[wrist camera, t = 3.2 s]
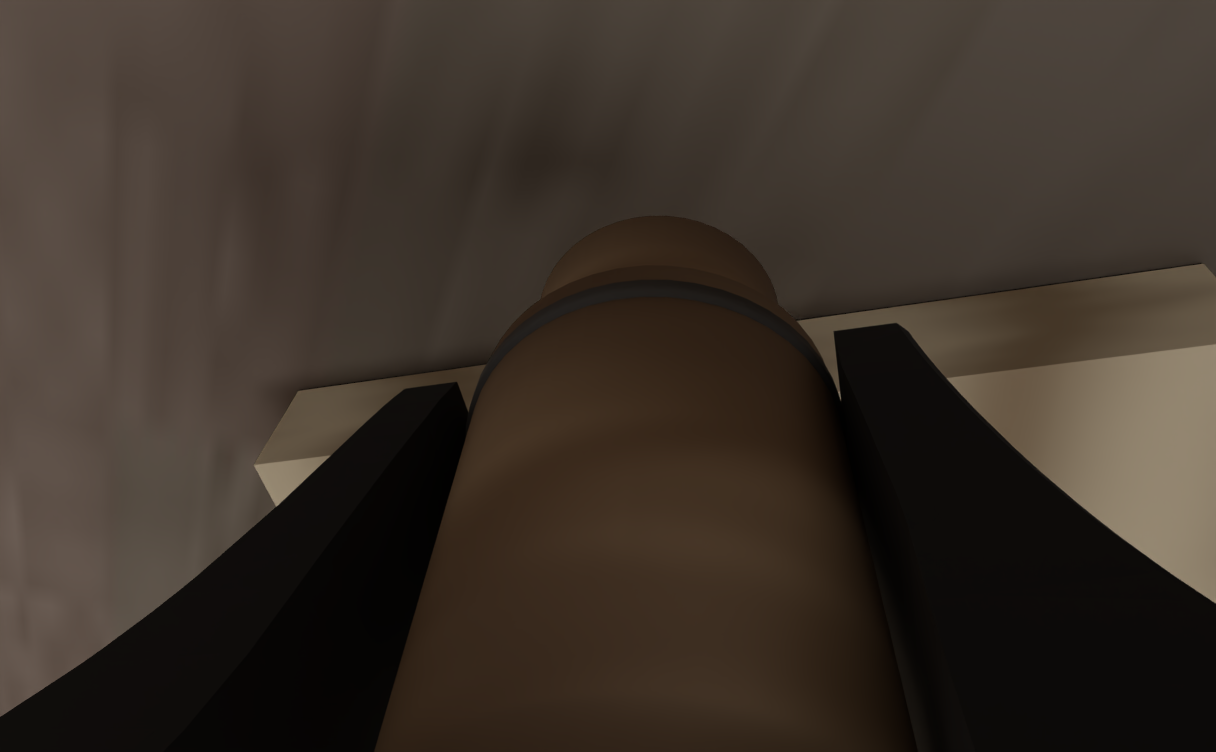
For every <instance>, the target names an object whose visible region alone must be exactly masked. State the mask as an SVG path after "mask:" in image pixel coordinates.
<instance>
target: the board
mask: <svg viewBox="0 0 1216 752" xmlns="http://www.w3.org/2000/svg"><path fill="white" fill-rule="evenodd" d="M797 322H798V323H799V324H800V326H801V327H802V328H803V329H804V331H805V332H806V333H807V334H808V336H809V337H810V338H811V339H812V341H813V342H814V344H815V346H816V347H817V349H818V351H819V353H820V354H821V356H822V358H823V360H824V363H825V365H826V367H827V369H828V371H829V372H830V374H831V376H832V378H833V380H834V383H835V385H836V388H837V391H838V393H839V396H840V387H839V378H838V369H837V359H836V350H835V341H834V332H833V331H838V330H846V329H853V328H861V327H868V326H875V325H883V324H890V323H898V324H899V325H901V326H902V327H903V328H905V329H906V330H907V331H909V333H910V334H911V335H912V337H913V338H914V340H915V341H916V342H917V343H918V345H919V346H920V347H921V349H922V350H923V351H924V352H925V354H926V355H927V356H928V357H929V359H930V360H931V361H932V362H933V363H934V364H935V366H936V367H937V368H938V369H939V370H940V372H941V373H942V374H943V375H944V376H945V377H946V378H947V379H948V380H949V382H950V383H951V384H952V385H953V386H954V387H955V388H956V389H957V390H958V392H959V393H960V394H961V395H962V396H963V397H964V398H965V399H966V400H967V401H968V402H969V403H970V404H971V405H972V406H973V407H974V408H975V409H976V411H977V412H978V413H980V414H981V415H982V416H983V417H984V418H985V419H986V420H987V421H988V422H989V423H990V424H991V425H992V426H993V427H994V428H995V429H996V430H997V431H998V432H999V433H1000V434H1001V435H1002V436H1003V437H1004V438H1005V439H1006V440H1007V441H1008V442H1009V443H1010V444H1011V445H1012V446H1013V447H1014V448H1015V449H1016V450H1017V451H1019V452H1020V453H1021V454H1022V455H1023V456H1024V457H1025V458H1026V459H1027V460H1028V461H1030V462H1031V463H1032V464H1033V465H1034V466H1035V467H1036V468H1037V469H1038V470H1039V471H1041V472H1042V473H1043V474H1044V475H1045V476H1046V477H1048V478H1049V479H1050V480H1051V481H1052V482H1053V483H1055V484H1056V485H1057V486H1058V487H1059V488H1060V489H1062V490H1063V491H1064V492H1065V493H1066V494H1068V495H1069V496H1070V497H1071V498H1072V499H1073V500H1075V501H1076V502H1077V503H1078V504H1079V505H1081V506H1082V507H1083V508H1084V509H1086V510H1087V511H1088V512H1089V513H1091V514H1092V515H1093V516H1094V517H1096V518H1097V519H1098V520H1099V521H1101V522H1102V523H1103V524H1104V525H1106V526H1107V527H1108V528H1110V529H1111V530H1112V531H1113V532H1115V533H1116V534H1117V535H1119V536H1120V537H1121V538H1123V539H1124V540H1125V541H1127V542H1128V543H1129V544H1131V545H1132V546H1134V547H1135V548H1136V549H1138V550H1139V551H1140V552H1142V553H1143V554H1145V555H1146V556H1147V557H1149V558H1150V559H1152V560H1153V561H1154V562H1156V563H1157V564H1159V565H1160V566H1161V567H1163V568H1164V569H1165V570H1167V571H1168V572H1170V573H1171V574H1172V575H1174V576H1175V577H1177V578H1178V579H1180V580H1181V581H1183V582H1184V583H1186V584H1187V585H1189V586H1190V587H1192V588H1193V589H1195V590H1196V591H1198V592H1199V593H1201V594H1202V595H1204V596H1205V597H1207V598H1208V599H1210V600H1211V601H1213V602H1214V603H1216V277H1215V276H1214V275H1213V274H1212V272H1211V271H1210V270H1209V269H1208V268H1207V267H1206V266H1205V265H1204V264H1197V265H1190V266H1183V267H1176V268H1169V269H1162V270H1155V271H1148V272H1140V273H1133V274H1126V275H1119V276H1112V277H1105V278H1098V279H1091V280H1084V281H1076V282H1069V283H1062V284H1055V285H1048V286H1041V287H1034V288H1027V289H1020V290H1012V291H1005V292H998V293H991V294H984V295H977V296H970V297H963V298H956V299H948V300H941V301H934V302H927V303H920V304H913V305H906V306H899V307H892V308H884V309H877V310H870V311H863V312H856V313H849V314H842V315H835V316H828V317H820V318H813V319H806V320H799V321H797ZM485 366H486V365H479V366H472V367H465V368H458V369H451V370H444V371H436V372H429V373H422V374H415V375H408V376H401V377H394V378H387V379H380V380H372V381H365V382H358V383H351V384H344V385H337V386H330V387H323V388H316V389H308V390H301V391H298V392H297V394H296V395H295V397H294V399H293V400H292V402H291V404H290V405H289V407H288V409H287V410H286V412H285V414H284V415H283V417H282V419H281V420H280V422H279V424H278V425H277V427H276V429H275V430H274V432H273V434H272V435H271V437H270V439H269V440H268V442H267V444H266V445H265V447H264V449H263V450H262V452H261V454H260V455H259V457H258V459H257V460H256V462H255V464H254V467H255V468H256V470H257V472H258V474H259V476H260V478H261V479H262V481H263V483H264V485H265V487H266V489H267V490H268V492H269V494H270V496H271V498H272V500H273V502H274V503H275V505H276V507H277V506H278V505H279V504H280V503H281V502H282V501H283V500H284V499H285V498H286V497H287V496H288V495H289V494H290V493H291V492H293V491H294V490H295V489H296V488H297V487H298V486H299V485H300V484H301V483H302V482H303V481H304V480H305V479H306V478H307V477H308V476H309V475H311V474H312V473H313V472H314V471H315V470H316V469H317V468H318V467H319V466H320V465H321V464H322V463H323V462H324V461H325V460H326V459H328V458H329V457H330V456H331V455H332V454H333V453H334V452H335V451H336V450H337V449H338V448H339V447H340V446H341V445H342V444H343V443H344V442H345V441H346V440H347V439H349V438H350V437H351V436H352V435H353V434H354V433H355V432H356V431H357V430H358V429H359V428H360V427H361V426H362V425H363V424H364V423H365V422H367V421H368V420H369V419H370V418H371V417H372V416H373V415H374V414H375V413H376V412H377V411H379V410H380V409H381V408H382V407H383V406H384V405H385V404H386V403H388V402H389V401H390V400H391V399H392V398H394V397H395V396H396V395H397V394H399V393H400V392H401V391H402V390H404V389H406V388H413V387H421V386H428V385H436V384H443V383H451V382H457V383H458V385H459V388H460V391H461V393H462V396H463V399H464V402H465V404H466V407H467V410H468V412H469V407H470V404H471V401H472V397H473V394H474V391H475V388H476V386H477V383H478V380H479V378H480V375H481V373H482V371H483V369H484V368H485ZM840 399H841V396H840Z"/></svg>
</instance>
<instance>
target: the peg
mask: <svg viewBox="0 0 1216 752" xmlns="http://www.w3.org/2000/svg"><path fill="white" fill-rule="evenodd" d="M374 752H918V749H917V745H916V741H915V737H914V732H913V728H912V724H911V720H910V715H909V711H908V707H907V703H906V698H905V694H904V690H903V686H902V681H901V677H900V673H899V669H898V664H897V660H896V656H895V652H894V647H893V643H892V639H891V635H890V630H889V626H888V622H887V618H886V613H885V609H884V605H883V601H882V596H881V592H880V588H879V584H878V579H877V575H876V571H875V567H874V562H873V558H872V554H871V549H870V545H869V541H868V537H867V532H866V528H865V524H864V520H863V515H862V511H861V507H860V503H859V498H858V494H857V490H856V486H855V481H854V477H853V473H852V469H851V464H850V460H849V456H848V447H847V438H846V429H845V420H844V412H843V408H842V404H841V399H840V396H839V393H838V391H837V388H836V385H835V383H834V380H833V378H832V376H831V374H830V372H829V371H828V369H827V367H826V365H825V363H824V360H823V358H822V356H821V354H820V353H819V351H818V349H817V347H816V346H815V344H814V342H813V341H812V339H811V338H810V337H809V336H808V334H807V333H806V332H805V331H804V329H803V328H802V327H801V326H800V324H799V323H798V322H797V321H796V320H795V319H794V318H792V317H791V316H790V315H789V314H788V313H787V312H786V311H785V310H784V309H783V308H782V307H780V306H779V305H778V302H777V297H776V293H775V291H774V288H773V285H772V283H771V280H770V278H769V277H768V275H767V273H766V272H765V270H764V268H763V267H762V265H761V264H760V263H759V262H758V260H757V259H756V258H755V257H754V255H753V254H752V253H750V252H749V251H748V250H747V249H746V248H745V247H744V246H743V245H742V244H741V243H739V242H738V241H736V240H735V239H734V238H732V237H731V236H729V235H728V234H726V233H724V232H722V231H720V230H718V229H716V228H714V227H712V226H709V225H706V224H704V223H701V222H698V221H694V220H690V219H686V218H679V217H671V216H646V217H637V218H631V219H627V220H623V221H619V222H616V223H613V224H611V225H608V226H605V227H603V228H601V229H599V230H597V231H595V232H593V233H591V234H589V235H588V236H586V237H585V238H583V239H582V240H581V241H579V242H578V243H577V244H575V245H574V246H573V247H572V248H571V249H570V250H569V251H568V252H567V253H566V254H565V255H564V256H563V257H562V258H561V259H560V261H559V262H558V263H557V265H556V266H555V267H554V269H553V271H552V272H551V274H550V276H549V278H548V279H547V282H546V284H545V287H544V290H543V292H542V296H541V300H539V301H538V302H536V303H535V304H534V305H532V306H531V307H530V308H528V309H527V310H526V311H525V312H524V313H523V314H522V315H521V316H520V317H519V318H518V319H517V320H516V321H515V322H514V323H513V324H512V325H511V327H510V328H509V329H508V330H507V332H506V333H505V334H504V335H503V337H502V338H501V340H500V341H499V343H498V345H497V347H496V348H495V350H494V352H493V354H492V355H491V357H490V359H489V361H488V362H487V364H486V366H485V368H484V369H483V371H482V373H481V375H480V378H479V380H478V383H477V386H476V388H475V391H474V394H473V397H472V401H471V404H470V407H469V412H468V418H467V423H466V436H465V442H464V446H463V449H462V453H461V456H460V459H459V463H458V466H457V470H456V473H455V477H454V480H453V483H452V487H451V490H450V494H449V497H448V500H447V504H446V507H445V511H444V514H443V518H442V521H441V524H440V528H439V531H438V535H437V538H436V542H435V545H434V548H433V552H432V555H431V559H430V562H429V566H428V569H427V572H426V576H425V579H424V583H423V586H422V589H421V593H420V596H419V600H418V603H417V607H416V610H415V613H414V617H413V620H412V624H411V627H410V631H409V634H408V637H407V641H406V644H405V648H404V651H403V655H402V658H401V661H400V665H399V668H398V672H397V675H396V678H395V682H394V685H393V689H392V692H391V696H390V699H389V702H388V706H387V709H386V713H385V716H384V720H383V723H382V726H381V730H380V733H379V737H378V740H377V744H376V747H375V750H374Z"/></svg>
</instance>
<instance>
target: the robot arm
mask: <svg viewBox="0 0 1216 752" xmlns="http://www.w3.org/2000/svg"><path fill="white" fill-rule="evenodd" d="M833 332H834V341H835V350H836V359H837V369H838V378H839V387H840V396H841V404H842V408H843V412H844V420H845V429H846V438H847V447H848V456H849V460H850V464H851V469H852V473H853V477H854V481H855V486H856V490H857V494H858V498H859V503H860V507H861V511H862V515H863V520H864V524H865V528H866V532H867V537H868V541H869V545H870V549H871V554H872V558H873V562H874V567H875V571H876V575H877V579H878V584H879V588H880V592H881V596H882V601H883V605H884V609H885V613H886V618H887V622H888V626H889V630H890V635H891V639H892V643H893V647H894V652H895V656H896V660H897V664H898V669H899V673H900V677H901V681H902V686H903V690H904V694H905V698H906V703H907V707H908V711H909V715H910V720H911V724H912V728H913V732H914V737H915V741H916V745H917V749H918V752H1216V603H1214V602H1213V601H1211V600H1210V599H1208V598H1207V597H1205V596H1204V595H1202V594H1201V593H1199V592H1198V591H1196V590H1195V589H1193V588H1192V587H1190V586H1189V585H1187V584H1186V583H1184V582H1183V581H1181V580H1180V579H1178V578H1177V577H1175V576H1174V575H1172V574H1171V573H1170V572H1168V571H1167V570H1165V569H1164V568H1163V567H1161V566H1160V565H1159V564H1157V563H1156V562H1154V561H1153V560H1152V559H1150V558H1149V557H1147V556H1146V555H1145V554H1143V553H1142V552H1140V551H1139V550H1138V549H1136V548H1135V547H1134V546H1132V545H1131V544H1129V543H1128V542H1127V541H1125V540H1124V539H1123V538H1121V537H1120V536H1119V535H1117V534H1116V533H1115V532H1113V531H1112V530H1111V529H1110V528H1108V527H1107V526H1106V525H1104V524H1103V523H1102V522H1101V521H1099V520H1098V519H1097V518H1096V517H1094V516H1093V515H1092V514H1091V513H1089V512H1088V511H1087V510H1086V509H1084V508H1083V507H1082V506H1081V505H1079V504H1078V503H1077V502H1076V501H1075V500H1073V499H1072V498H1071V497H1070V496H1069V495H1068V494H1066V493H1065V492H1064V491H1063V490H1062V489H1060V488H1059V487H1058V486H1057V485H1056V484H1055V483H1053V482H1052V481H1051V480H1050V479H1049V478H1048V477H1046V476H1045V475H1044V474H1043V473H1042V472H1041V471H1039V470H1038V469H1037V468H1036V467H1035V466H1034V465H1033V464H1032V463H1031V462H1030V461H1028V460H1027V459H1026V458H1025V457H1024V456H1023V455H1022V454H1021V453H1020V452H1019V451H1017V450H1016V449H1015V448H1014V447H1013V446H1012V445H1011V444H1010V443H1009V442H1008V441H1007V440H1006V439H1005V438H1004V437H1003V436H1002V435H1001V434H1000V433H999V432H998V431H997V430H996V429H995V428H994V427H993V426H992V425H991V424H990V423H989V422H988V421H987V420H986V419H985V418H984V417H983V416H982V415H981V414H980V413H978V412H977V411H976V409H975V408H974V407H973V406H972V405H971V404H970V403H969V402H968V401H967V400H966V399H965V398H964V397H963V396H962V395H961V394H960V393H959V392H958V390H957V389H956V388H955V387H954V386H953V385H952V384H951V383H950V382H949V380H948V379H947V378H946V377H945V376H944V375H943V374H942V373H941V372H940V370H939V369H938V368H937V367H936V366H935V364H934V363H933V362H932V361H931V360H930V359H929V357H928V356H927V355H926V354H925V352H924V351H923V350H922V349H921V347H920V346H919V345H918V343H917V342H916V341H915V340H914V338H913V337H912V335H911V334H910V333H909V331H907V330H906V329H905V328H903V327H902V326H901V325H899V324H898V323H890V324H883V325H875V326H868V327H861V328H853V329H846V330H838V331H833ZM467 418H468V410H467V407H466V404H465V402H464V399H463V396H462V393H461V391H460V388H459V385H458V383H457V382H451V383H443V384H436V385H428V386H421V387H413V388H406V389H404V390H402V391H401V392H400V393H399V394H397V395H396V396H395V397H394V398H392V399H391V400H390V401H389V402H388V403H386V404H385V405H384V406H383V407H382V408H381V409H380V410H379V411H377V412H376V413H375V414H374V415H373V416H372V417H371V418H370V419H369V420H368V421H367V422H365V423H364V424H363V425H362V426H361V427H360V428H359V429H358V430H357V431H356V432H355V433H354V434H353V435H352V436H351V437H350V438H349V439H347V440H346V441H345V442H344V443H343V444H342V445H341V446H340V447H339V448H338V449H337V450H336V451H335V452H334V453H333V454H332V455H331V456H330V457H329V458H328V459H326V460H325V461H324V462H323V463H322V464H321V465H320V466H319V467H318V468H317V469H316V470H315V471H314V472H313V473H312V474H311V475H309V476H308V477H307V478H306V479H305V480H304V481H303V482H302V483H301V484H300V485H299V486H298V487H297V488H296V489H295V490H294V491H293V492H291V493H290V494H289V495H288V496H287V497H286V498H285V499H284V500H283V501H282V502H281V503H280V504H279V505H278V506H277V507H275V508H274V509H273V510H272V511H271V512H270V513H269V514H268V515H266V516H265V517H264V518H263V519H262V520H261V521H260V522H258V523H257V524H256V525H255V526H254V527H253V528H252V529H250V530H249V531H248V532H247V533H246V534H245V535H244V536H242V537H241V538H240V539H239V540H238V541H237V542H236V543H234V544H233V545H232V546H231V547H230V548H229V549H228V550H226V551H225V552H224V553H223V554H222V555H221V556H220V557H218V558H217V559H216V560H215V561H214V562H213V563H211V564H210V565H209V566H208V567H207V568H206V569H205V570H203V571H202V572H201V573H200V574H199V575H198V576H197V577H195V578H194V579H193V580H192V581H190V582H189V583H188V584H187V585H185V586H184V587H183V588H182V589H181V590H179V591H178V592H177V593H176V594H174V595H173V596H172V597H170V598H169V599H168V600H167V601H165V602H164V603H163V604H162V605H160V606H159V607H158V608H156V609H155V610H154V611H153V612H151V613H150V614H149V615H147V616H146V617H145V618H143V619H142V620H141V621H139V622H138V623H137V624H135V625H134V626H133V627H131V628H130V629H129V630H127V631H126V632H124V633H123V634H122V635H120V636H119V637H118V638H116V639H115V640H114V641H112V642H111V643H110V644H108V645H107V646H106V647H104V648H103V649H102V650H100V651H99V652H97V653H96V654H94V655H93V656H92V657H90V658H89V659H87V660H86V661H85V662H83V663H82V664H80V665H79V666H77V667H76V668H74V669H73V670H71V671H70V672H68V673H67V674H65V675H64V676H62V677H60V678H59V679H57V680H56V681H54V682H53V683H51V684H50V685H48V686H47V687H45V688H44V689H42V690H41V691H39V692H38V693H36V694H35V695H33V696H32V697H30V698H28V699H27V700H25V701H24V702H22V703H21V704H19V705H18V706H16V707H15V708H13V709H12V710H10V711H9V712H7V713H6V714H4V715H3V716H1V717H0V752H374V750H375V747H376V744H377V740H378V737H379V733H380V730H381V726H382V723H383V720H384V716H385V713H386V709H387V706H388V702H389V699H390V696H391V692H392V689H393V685H394V682H395V678H396V675H397V672H398V668H399V665H400V661H401V658H402V655H403V651H404V648H405V644H406V641H407V637H408V634H409V631H410V627H411V624H412V620H413V617H414V613H415V610H416V607H417V603H418V600H419V596H420V593H421V589H422V586H423V583H424V579H425V576H426V572H427V569H428V566H429V562H430V559H431V555H432V552H433V548H434V545H435V542H436V538H437V535H438V531H439V528H440V524H441V521H442V518H443V514H444V511H445V507H446V504H447V500H448V497H449V494H450V490H451V487H452V483H453V480H454V477H455V473H456V470H457V466H458V463H459V459H460V456H461V453H462V449H463V446H464V442H465V436H466V423H467Z"/></svg>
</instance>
